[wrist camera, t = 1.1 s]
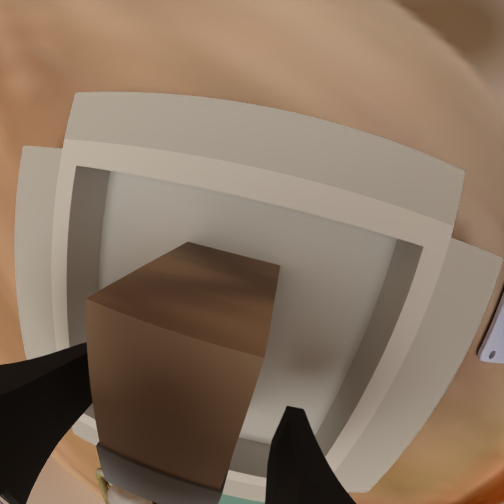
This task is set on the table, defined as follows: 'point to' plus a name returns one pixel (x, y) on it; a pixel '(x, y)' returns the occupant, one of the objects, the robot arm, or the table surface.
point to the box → (177, 369)
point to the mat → (236, 500)
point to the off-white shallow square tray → (265, 259)
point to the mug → (118, 493)
